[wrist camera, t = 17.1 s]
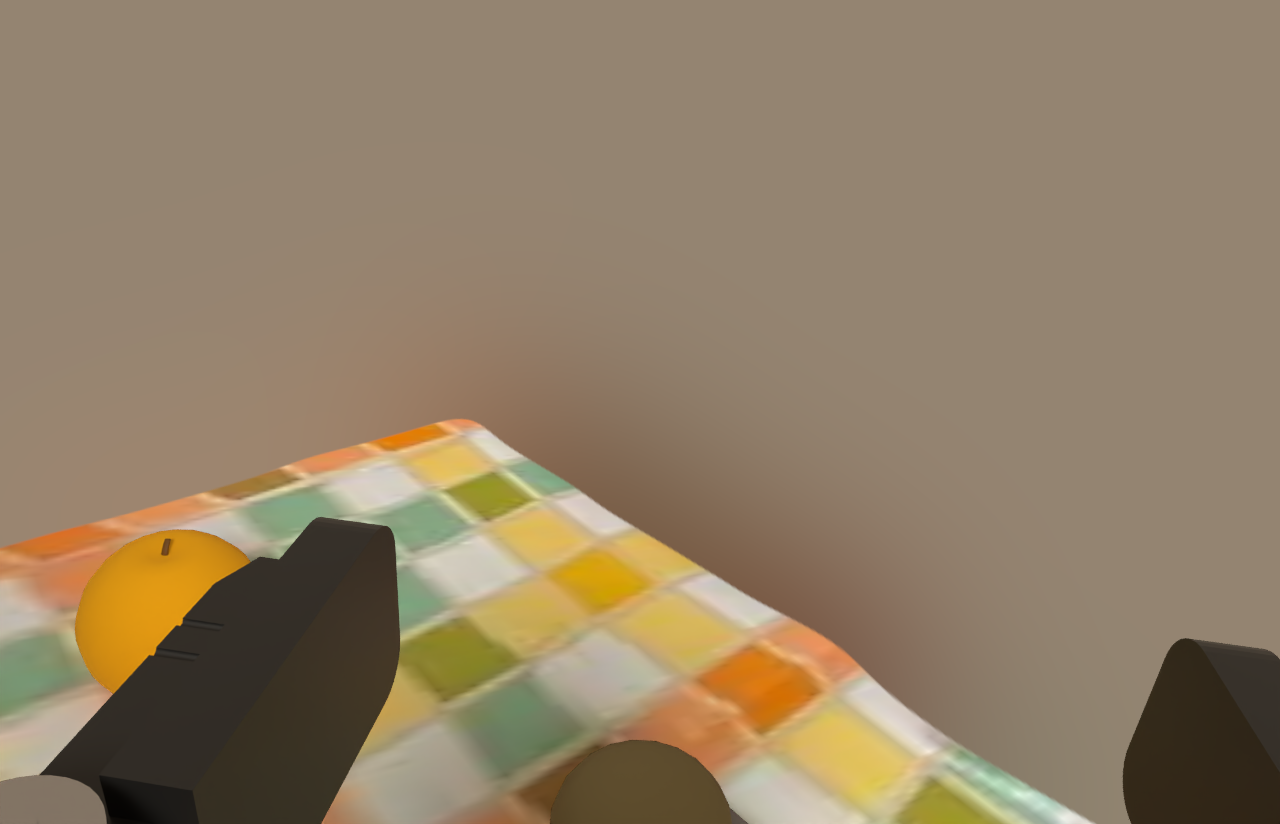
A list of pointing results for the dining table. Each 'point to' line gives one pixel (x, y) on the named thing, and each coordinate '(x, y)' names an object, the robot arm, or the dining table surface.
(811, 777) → the dining table surface
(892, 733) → the dining table surface
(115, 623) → the orange
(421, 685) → the dining table surface
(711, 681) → the dining table surface
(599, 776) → the cork
